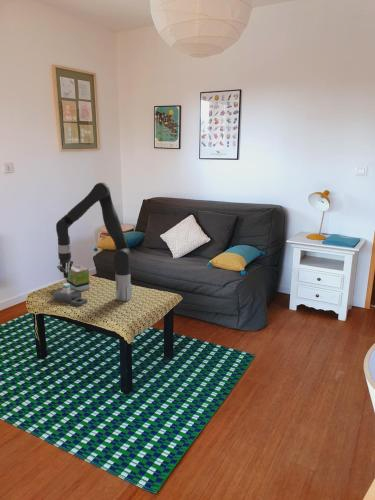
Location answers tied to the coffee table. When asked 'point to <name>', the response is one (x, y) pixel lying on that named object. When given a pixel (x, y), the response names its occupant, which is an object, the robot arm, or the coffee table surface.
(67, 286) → the plug
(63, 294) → the port
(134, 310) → the coffee table surface
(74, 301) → the gray square frame
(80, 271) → the tea box
